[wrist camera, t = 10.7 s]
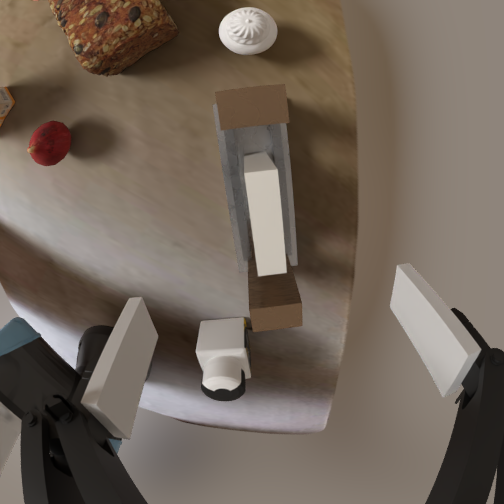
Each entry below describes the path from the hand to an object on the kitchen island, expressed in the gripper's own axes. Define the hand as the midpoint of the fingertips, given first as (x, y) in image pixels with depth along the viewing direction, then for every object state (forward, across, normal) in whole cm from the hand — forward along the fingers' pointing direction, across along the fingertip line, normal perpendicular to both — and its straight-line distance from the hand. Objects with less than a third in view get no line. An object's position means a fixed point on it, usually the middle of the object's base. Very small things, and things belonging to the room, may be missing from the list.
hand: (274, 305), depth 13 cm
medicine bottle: (+23, +7, +23) cm, 33 cm away
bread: (+23, +14, -28) cm, 39 cm away
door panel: (+22, 0, 0) cm, 22 cm away
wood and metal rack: (+23, 0, 0) cm, 23 cm away
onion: (+23, +24, -12) cm, 36 cm away
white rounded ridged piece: (+23, -2, -19) cm, 30 cm away
